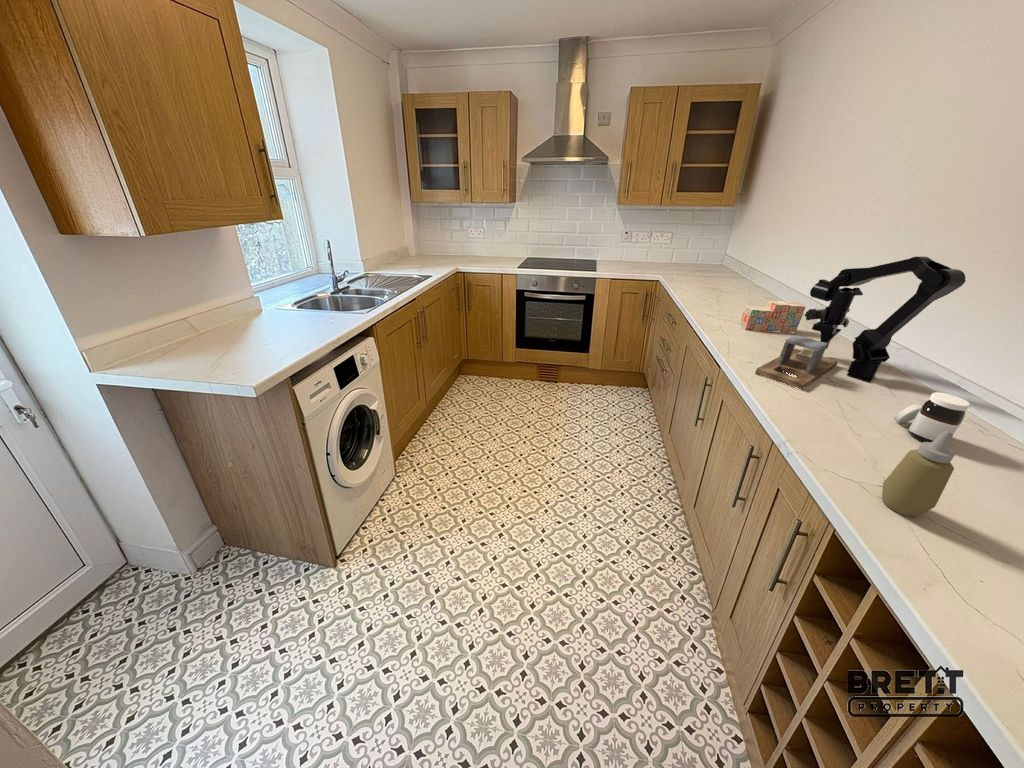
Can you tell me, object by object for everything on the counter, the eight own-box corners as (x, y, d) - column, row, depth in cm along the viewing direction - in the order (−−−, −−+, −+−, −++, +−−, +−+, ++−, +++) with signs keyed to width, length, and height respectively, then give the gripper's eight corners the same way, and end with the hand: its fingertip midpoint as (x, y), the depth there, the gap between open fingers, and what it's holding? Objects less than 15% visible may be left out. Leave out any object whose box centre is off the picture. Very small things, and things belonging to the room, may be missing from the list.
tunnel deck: (835, 366, 144) (849, 337, 139) (801, 390, 126) (814, 358, 121) (793, 353, 154) (804, 325, 148) (754, 373, 135) (765, 343, 130)
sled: (832, 352, 150) (839, 338, 147) (814, 363, 139) (821, 348, 137) (813, 347, 154) (819, 333, 151) (795, 357, 144) (801, 342, 141)
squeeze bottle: (901, 492, 85) (947, 420, 76) (938, 522, 78) (994, 446, 69) (864, 492, 84) (907, 420, 76) (898, 522, 77) (949, 445, 69)
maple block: (815, 360, 143) (820, 350, 141) (811, 362, 141) (816, 352, 139) (803, 356, 146) (807, 346, 144) (799, 359, 143) (803, 348, 141)
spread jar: (943, 452, 99) (970, 411, 94) (885, 431, 107) (907, 392, 101) (950, 435, 106) (975, 397, 100) (895, 416, 113) (916, 380, 108)
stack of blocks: (744, 330, 176) (754, 302, 170) (739, 325, 181) (747, 298, 176) (795, 333, 175) (806, 306, 169) (788, 328, 180) (798, 302, 175)
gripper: (822, 296, 152) (806, 335, 159) (804, 302, 141) (788, 344, 148) (857, 304, 145) (839, 344, 152) (841, 311, 134) (822, 354, 141)
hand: (821, 346), depth 148 cm, fingers closed
